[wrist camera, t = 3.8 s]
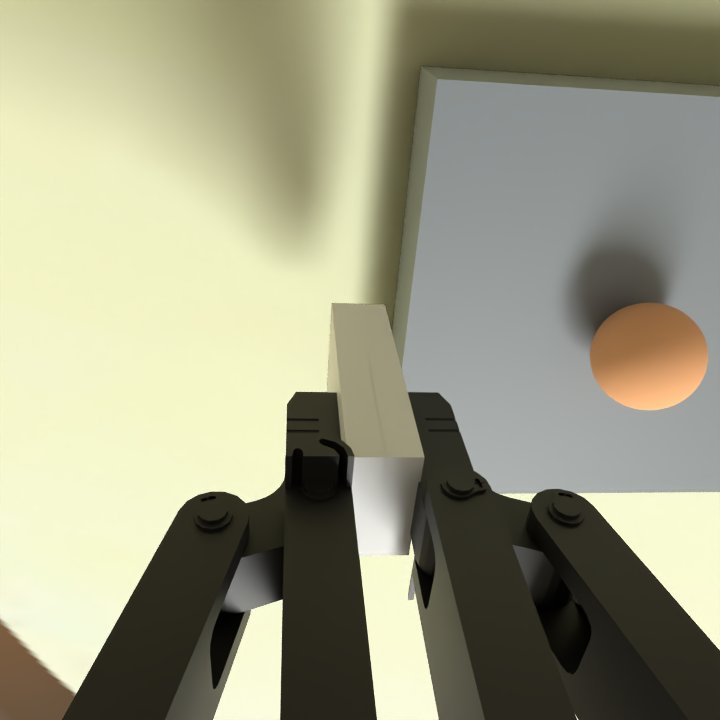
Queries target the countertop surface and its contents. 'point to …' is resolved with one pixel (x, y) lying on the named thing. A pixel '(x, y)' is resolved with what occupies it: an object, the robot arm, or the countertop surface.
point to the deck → (560, 270)
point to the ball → (649, 356)
